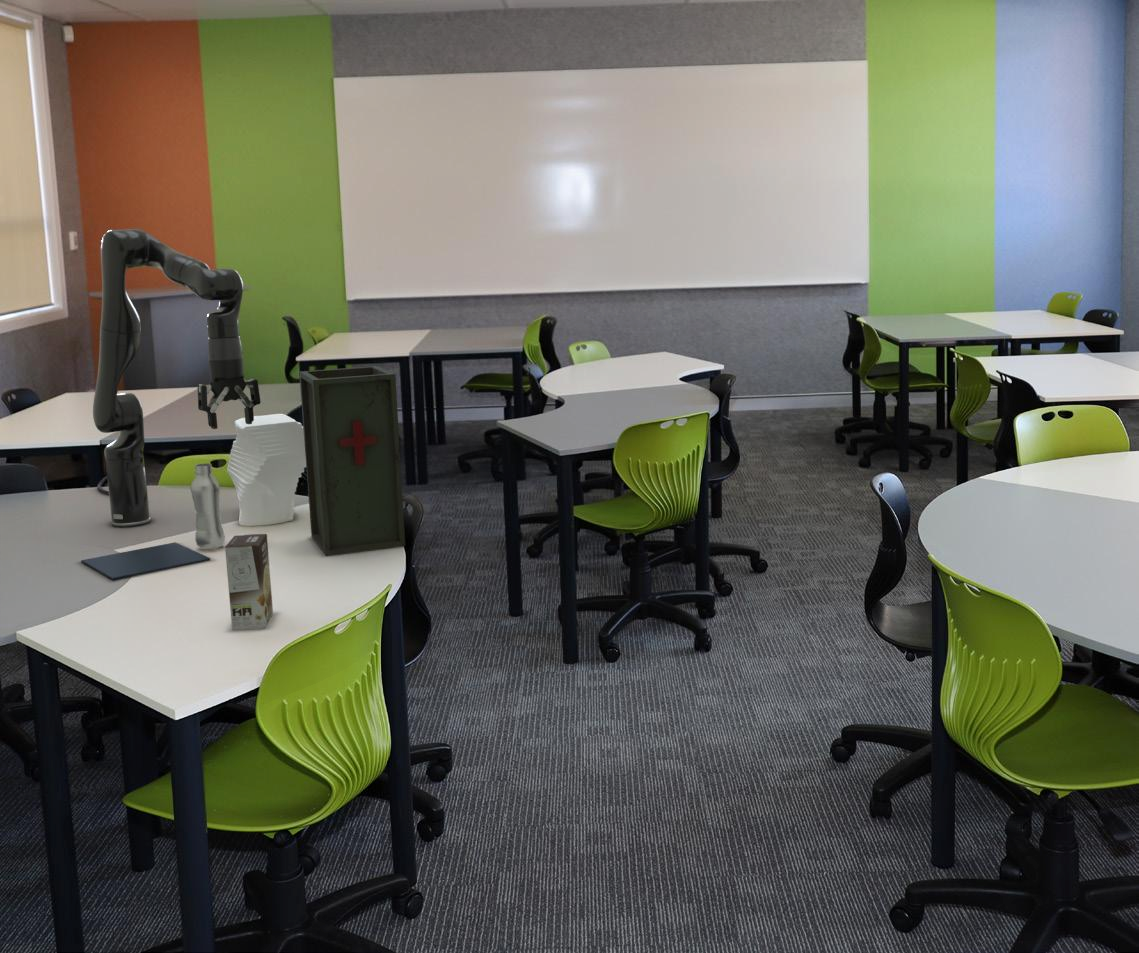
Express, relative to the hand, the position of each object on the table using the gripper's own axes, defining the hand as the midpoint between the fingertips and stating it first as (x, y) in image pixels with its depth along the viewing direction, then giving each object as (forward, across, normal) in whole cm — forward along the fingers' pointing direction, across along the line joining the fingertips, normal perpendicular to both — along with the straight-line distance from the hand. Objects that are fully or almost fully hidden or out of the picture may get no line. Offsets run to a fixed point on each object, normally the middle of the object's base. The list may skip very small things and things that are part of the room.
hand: (231, 426), depth 284 cm
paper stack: (+28, -18, -20) cm, 39 cm away
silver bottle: (+28, +8, 0) cm, 29 cm away
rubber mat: (+28, +23, 0) cm, 36 cm away
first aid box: (+28, -20, +19) cm, 40 cm away
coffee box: (+28, +24, +58) cm, 69 cm away
